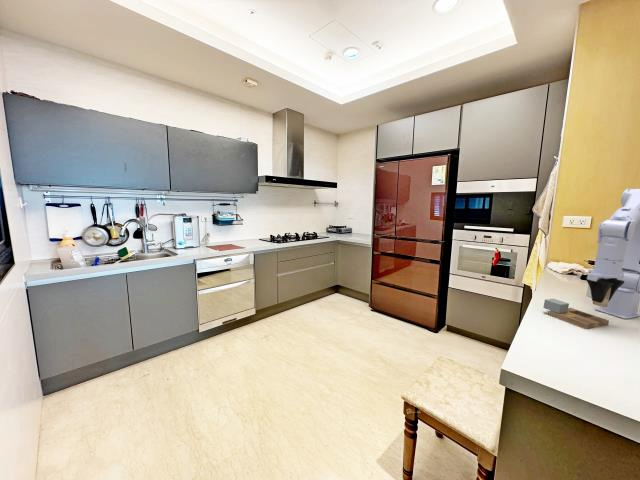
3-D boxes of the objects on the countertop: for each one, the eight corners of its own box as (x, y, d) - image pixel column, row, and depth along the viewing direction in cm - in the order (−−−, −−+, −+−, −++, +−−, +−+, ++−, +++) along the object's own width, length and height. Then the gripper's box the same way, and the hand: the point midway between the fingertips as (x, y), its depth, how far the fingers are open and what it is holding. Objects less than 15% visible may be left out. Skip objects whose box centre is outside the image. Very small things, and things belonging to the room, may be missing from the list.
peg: (596, 302, 83) (599, 284, 82) (609, 306, 80) (613, 287, 79) (590, 303, 82) (593, 285, 81) (603, 307, 79) (607, 288, 78)
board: (569, 311, 91) (570, 307, 90) (607, 325, 81) (608, 320, 81) (548, 315, 87) (549, 310, 87) (586, 329, 78) (587, 324, 78)
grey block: (551, 306, 90) (553, 298, 90) (567, 312, 86) (569, 303, 86) (543, 307, 89) (544, 299, 88) (558, 313, 85) (560, 304, 84)
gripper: (606, 255, 85) (597, 294, 87) (578, 257, 80) (570, 298, 82) (637, 260, 78) (627, 302, 80) (609, 262, 74) (599, 307, 76)
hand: (600, 301), depth 81 cm, fingers closed on peg, 3 cm apart
